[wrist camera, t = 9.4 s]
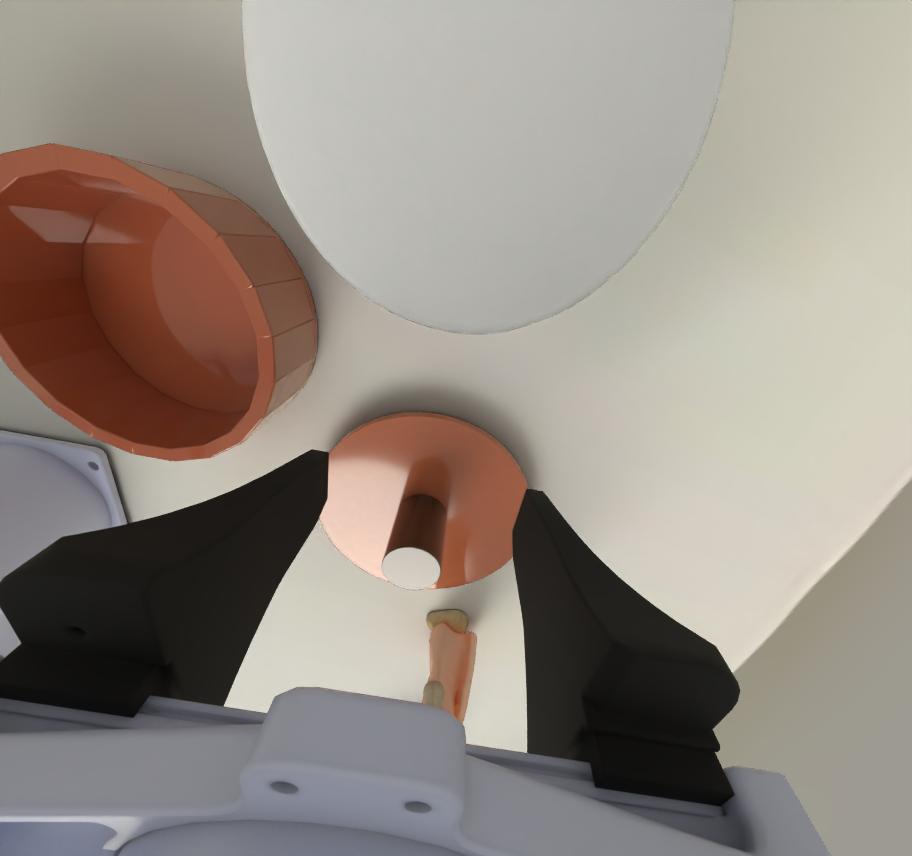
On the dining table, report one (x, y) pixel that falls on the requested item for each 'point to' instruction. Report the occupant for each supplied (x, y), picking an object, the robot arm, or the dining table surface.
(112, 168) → the bowl
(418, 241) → the pill bottle
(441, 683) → the grandmother figurine
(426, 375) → the dining table surface
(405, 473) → the lid
